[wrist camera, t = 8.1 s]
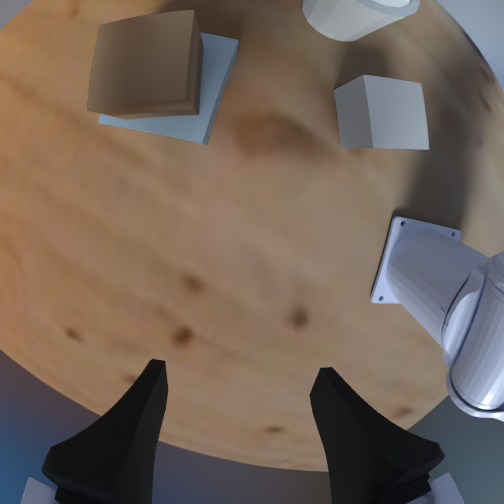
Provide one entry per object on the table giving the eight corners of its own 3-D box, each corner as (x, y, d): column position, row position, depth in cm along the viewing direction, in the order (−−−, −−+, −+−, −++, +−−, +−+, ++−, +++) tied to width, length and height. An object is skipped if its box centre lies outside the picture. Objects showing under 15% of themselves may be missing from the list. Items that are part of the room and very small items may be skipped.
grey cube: (384, 94, 17) (421, 83, 12) (390, 147, 18) (429, 149, 14) (333, 90, 17) (363, 74, 12) (340, 148, 18) (373, 148, 13)
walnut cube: (204, 47, 12) (194, 9, 8) (199, 115, 14) (185, 98, 9) (132, 54, 12) (99, 25, 7) (126, 120, 13) (86, 110, 9)
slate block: (237, 58, 16) (238, 40, 12) (207, 145, 18) (202, 143, 14) (148, 43, 14) (134, 26, 11) (118, 126, 17) (97, 122, 13)
